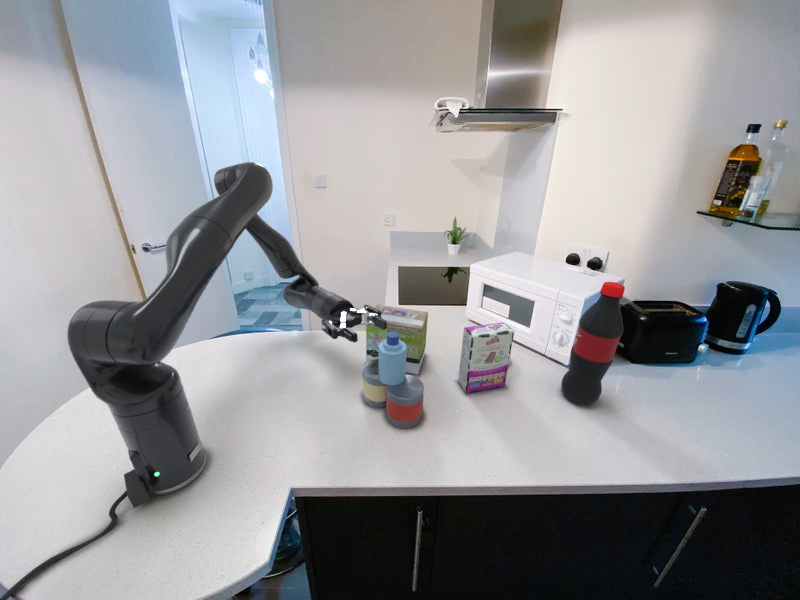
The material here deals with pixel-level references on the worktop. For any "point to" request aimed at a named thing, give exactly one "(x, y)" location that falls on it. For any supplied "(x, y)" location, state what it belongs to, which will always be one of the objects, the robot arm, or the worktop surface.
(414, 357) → the tea box
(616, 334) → the cola bottle
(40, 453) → the worktop surface
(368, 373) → the can back
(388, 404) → the can front
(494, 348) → the candy bar box
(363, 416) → the worktop surface
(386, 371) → the plastic bottle
